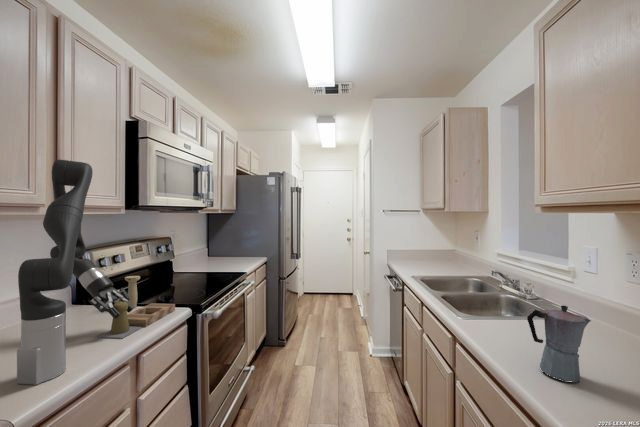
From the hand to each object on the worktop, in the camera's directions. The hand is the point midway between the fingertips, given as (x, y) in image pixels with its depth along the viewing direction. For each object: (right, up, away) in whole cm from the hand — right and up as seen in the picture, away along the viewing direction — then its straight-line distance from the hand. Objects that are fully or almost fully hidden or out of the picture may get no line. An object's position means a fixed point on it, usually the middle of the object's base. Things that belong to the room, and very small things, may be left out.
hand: (124, 313), depth 111 cm
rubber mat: (-2, -7, 0) cm, 8 cm away
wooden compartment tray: (0, -7, +16) cm, 18 cm away
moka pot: (+143, -8, -29) cm, 146 cm away
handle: (-16, -8, +30) cm, 34 cm away
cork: (-2, -7, 0) cm, 7 cm away
